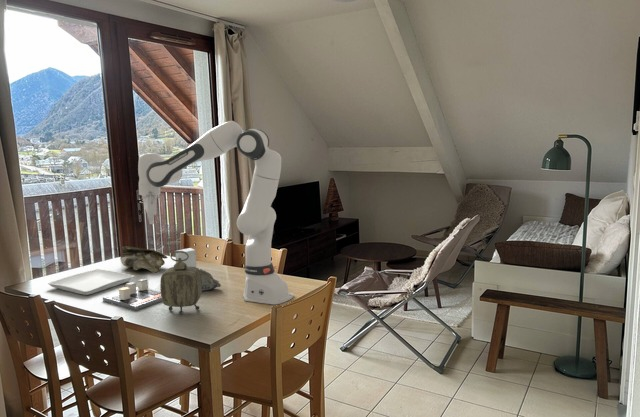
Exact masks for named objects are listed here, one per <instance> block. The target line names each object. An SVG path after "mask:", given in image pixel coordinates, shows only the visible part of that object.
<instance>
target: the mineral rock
mask: <svg viewBox="0 0 640 417" xmlns="http://www.w3.org/2000/svg"><path fill="white" fill-rule="evenodd" d="M199 271H200V273H201V279H202V292H204V291H209V290H210V291H211V290H214V289H216V288H220V287H221V286H222V284H221V283H220V281H219V280H217V279H215V278H214V277H213V275H212V274H211V273H210V272H208V271H206V270H203V269H202V268H200V269H199Z"/></svg>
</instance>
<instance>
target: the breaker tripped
mask: <svg viewBox="0 0 640 417" xmlns="http://www.w3.org/2000/svg"><path fill="white" fill-rule="evenodd" d="M118 292H119V299H122V300H126V299H129V298H130V288H127V287H126V286H125V287H124V286H123V287H121V288H118Z"/></svg>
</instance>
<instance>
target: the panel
mask: <svg viewBox="0 0 640 417" xmlns="http://www.w3.org/2000/svg"><path fill="white" fill-rule="evenodd" d="M102 302H104V303H108V304H110V305H114V306H117V307H121V308H125V309H128V310H132V311H134V312H136V311H138V310H142V309H144V308H147V307H151V306H153V305H156V304H159V303H163V301H162V297H161V290H160V291H159V290H156V289H152V288H148V289H146V290H143V291H141V290H138V286H136V293H134V294H131V295H130V298H129V299H126V300H122V299H119V291H118V292H116V293H112V294H109V295H106V296H105V295H104V296H103V297H102Z"/></svg>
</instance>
